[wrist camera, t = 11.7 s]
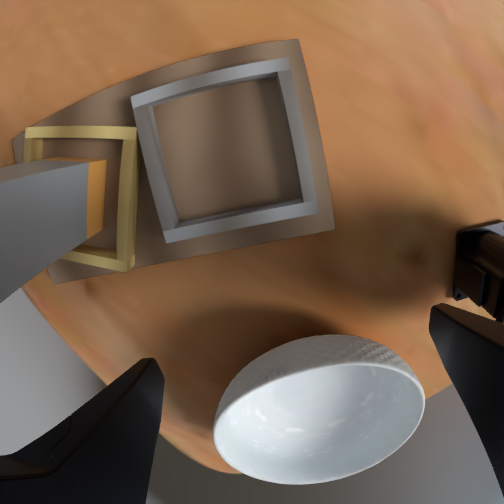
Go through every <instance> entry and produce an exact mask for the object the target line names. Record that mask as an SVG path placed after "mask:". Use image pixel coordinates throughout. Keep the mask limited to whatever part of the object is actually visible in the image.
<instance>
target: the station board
mask: <svg viewBox="0 0 504 504" xmlns="http://www.w3.org/2000/svg"><path fill="white" fill-rule="evenodd" d="M12 143H13V149H14V154H15V160H16V164H21V163H26V162H31V161H37V160H42V159H48V158H54V157H75V158H93V159H107V166H106V179H105V196H104V229H103V230H101V231H99V232H98V233H96V234H95V235H93V236H92V237H90V238H89V239H87V240H86V241H84V242H83V243H81V244H80V245H78V246H77V247H75V248H74V249H72V250H71V251H69V252H68V253H67V254H65V255H64V256H62V257H61V258H59V259H58V260H57V261H55V262H54V263H52V264H51V265H50V266H48V267H47V270H48V273H49V275H50V278H51V280H52V283H53V284H58V283H63V282H68V281H73V280H78V279H83V278H88V277H93V276H98V275H103V274H108V273H113V272H118V271H122V272H128V271H129V270H130V269H133V268H138V267H143V266H148V265H153V264H158V263H163V262H169V261H174V260H179V259H184V258H189V257H194V256H199V255H204V254H210V253H215V252H220V251H225V250H230V249H236V248H241V247H246V246H251V245H256V244H262V243H267V242H272V241H277V240H283V239H288V238H293V237H299V236H304V235H309V234H314V233H320V232H325V231H331V230H336V229H335V222H334V214H333V207H332V200H331V193H330V186H329V180H328V174H327V168H326V162H325V156H324V151H323V145H322V140H321V134H320V129H319V124H318V119H317V115H316V110H315V105H314V101H313V96H312V92H311V87H310V83H309V79H308V75H307V70H306V66H305V62H304V58H303V55H302V51H301V47H300V43H299V40H298V39H290V40H282V41H275V42H268V43H262V44H256V45H250V46H245V47H239V48H235V49H230V50H225V51H221V52H216V53H212V54H208V55H204V56H200V57H196V58H193V59H189V60H186V61H182V62H179V63H175V64H172V65H169V66H166V67H163V68H160V69H157V70H154V71H151V72H148V73H145V74H142V75H140V76H137V77H134V78H132V79H129V80H126V81H124V82H121V83H119V84H116V85H114V86H112V87H109V88H107V89H105V90H102V91H100V92H98V93H96V94H93V95H91V96H89V97H87V98H85V99H83V100H81V101H79V102H77V103H75V104H73V105H71V106H69V107H67V108H65V109H63V110H61V111H59V112H57V113H55V114H53V115H52V116H50V117H48V118H46V119H45V120H43V121H41V122H39V123H38V124H36V125H34V126H33V127H27V128H26V131H24V132H23V133H21V134H20V135H18V136H17V137H15V138H13V139H12Z"/></svg>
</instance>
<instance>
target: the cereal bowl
mask: <svg viewBox="0 0 504 504" xmlns="http://www.w3.org/2000/svg"><path fill="white" fill-rule="evenodd" d="M424 406H425V395H424V391H423V387H422V385H421V384H420V382H419V380H418V378H417V377H416V375H415V373H414V372H413V371H412V370H411V368H410V366H408V365H407V364H406V362H405V361H404V360H403V359H401V357H400V356H399V355H397V354H396V353H394V352H393V351H392V350H391V349H389V348H387V347H386V346H385V345H381V344H380V343H378V342H374V341H372V340H370V339H365V338H363V337H356V336H354V335H340V334H337V335H332V334H330V335H321V336H319V335H316V336H311V337H305V338H302V339H297V340H295V341H291V342H288V343H285V344H282V345H281V346H279V347H276V348H274V349H271V350H270V351H268V352H266V353H264V354H262V355H261V356H259V357H257V358H256V359H255V360H253V361H252V362H250V363H249V364H248V365H247V366H246V367H244V368H243V369H242V370H241V371H240V372H239V373H238V374H237V375H236V377H235V378H234V379H233V380H232V381H231V382H230V384H229V386H228V387H227V388H226V390H225V393H224V394H223V396H222V398H221V401H220V402H219V406H218V409H217V411H216V416H215V419H214V424H213V440H214V444H215V447H216V449H217V451H218V453H219V454H220V456H221V457H222V458H223V459H224V460H225V461H226V462H227V463H228V464H229V465H230V466H232V467H233V468H235V469H236V470H238V471H240V472H242V473H244V474H246V475H248V476H251V477H254V478H257V479H261V480H264V481H269V482H274V483H281V484H313V483H321V482H327V481H332V480H337V479H340V478H344V477H347V476H350V475H353V474H356V473H358V472H361V471H363V470H365V469H367V468H369V467H372V466H373V465H375V464H377V463H379V462H380V461H382V460H384V459H385V458H387V457H388V456H389V455H391V454H392V453H394V452H395V451H396V450H397V449H398V448H400V447H401V445H403V444H404V443H405V442H406V441H407V440H408V439H409V437H410V436H411V435H412V434H413V432H414V431H415V429H416V428H417V426H418V424H419V422H420V420H421V418H422V415H423V412H424Z"/></svg>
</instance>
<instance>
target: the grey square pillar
mask: <svg viewBox="0 0 504 504" xmlns="http://www.w3.org/2000/svg"><path fill="white" fill-rule="evenodd" d="M106 166H107V159H93V158H75V157H54V158H48V159H42V160H37V161H31V162H26V163H21V164H16V165H11V166H6V167H2V168H0V303H1V302H2V301H4V300H5V299H6V298H7V297H9V296H10V295H11V294H12V293H14V292H15V291H16V290H17V289H18V288H20V287H21V286H23V285H24V284H25V283H27V282H28V281H29V280H31V279H32V278H33V277H35V276H36V275H37V274H39V273H40V272H41V271H43V270H44V269H45V268H47V267H48V266H50V265H51V264H52V263H54V262H55V261H57V260H58V259H59V258H61V257H62V256H64V255H65V254H67V253H68V252H69V251H71V250H72V249H74V248H75V247H77V246H78V245H80V244H81V243H83V242H84V241H86V240H87V239H89V238H90V237H92V236H93V235H95V234H96V233H98V232H99V231H101V230H103V229H104V196H105V179H106Z"/></svg>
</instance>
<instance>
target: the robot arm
mask: <svg viewBox="0 0 504 504" xmlns="http://www.w3.org/2000/svg"><path fill="white" fill-rule="evenodd" d="M462 235H463V237H462ZM461 237H462V238H461ZM457 295H458V296H457ZM452 297H453V298H454V299H455V300H456V301H459V300H462V299H465V298H470V299H471V300H472V301H473V302H474V303H475V304H476V305H477V306H479V307H480V306H482V307H483V308H484V309H485V310H486V311H487V312H488V313H489V314H490V315H491V316H492V317H493V318H496V320H495V321H494V320H491V319H488V318H485V317H482V316H480V315H477V314H474V313H471V312H468V311H465V310H462V309H459V308H457V307H454V306H451V305H448V304H445V303H440V304H437V305H434V306H432V308H431V312H430V321H429V332H430V335H431V337H432V339H433V342H434V344H435V346H436V349H437V351H438V353H439V355H440V358H441V360H442V363H443V365H444V367H445V369H446V371H447V373H448V375H449V377H450V379H451V380H452V382H453V384H454V386H455V388H456V390H457V391H458V394H459V395H460V397H461V399H462V401H463V403H464V405H465V407H466V409H467V411H468V413H469V415H470V417H471V419H472V421H473V424H474V426H475V428H476V430H477V432H478V434H479V436H480V439H481V441H482V443H483V445H484V448H485V450H486V452H487V455H488V457H489V459H490V462H491V464H492V467H494V468H493V470H494V472H495V475H496V477H497V480H498V482H499V485H500V488H501V490H502V494H503V496H504V221H499V222H495V223H490V224H486V225H482V226H477V227H473V228H468V229H464V230H460V231H459V232H458V233H457V239H456V259H455V271H454V285H453V294H452ZM164 384H165V380H164V376H163V374H162V372H161V370H160V368H159V366H158V364H157V362H156V360H155V359H154V358H143V359H141V360H140V361H138V362H137V363H136V364H135V365H133V366H132V367H131V368H130V369H128V370H127V371H126V372H125V373H123V374H122V375H121V376H119V377H118V378H117V379H116V380H114V381H113V382H112V383H111V384H109V385H108V386H107V387H106V388H104V389H103V390H102V391H101V392H99V393H98V394H97V395H95V396H94V397H93V398H92V399H90V400H89V401H88V402H87V403H85V404H84V405H83V406H81V407H80V408H79V409H78V410H76V411H75V412H74V413H72V414H71V416H68V417H67V418H66V419H65V420H63V421H62V422H61V423H59V424H58V425H57V426H55V427H54V428H53V429H51V430H50V431H48V432H47V433H45V434H44V435H42V436H41V437H39V438H38V439H36V440H34V441H33V442H31V443H30V444H28V445H26V446H25V447H24V448H22V449H20V450H19V451H17V452H15V453H13V454H9V455H3V456H0V504H145V503H146V497H147V492H148V485H149V480H150V475H151V469H152V464H153V458H154V453H155V448H156V443H157V438H158V433H159V428H160V423H161V415H162V404H163V394H164Z"/></svg>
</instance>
